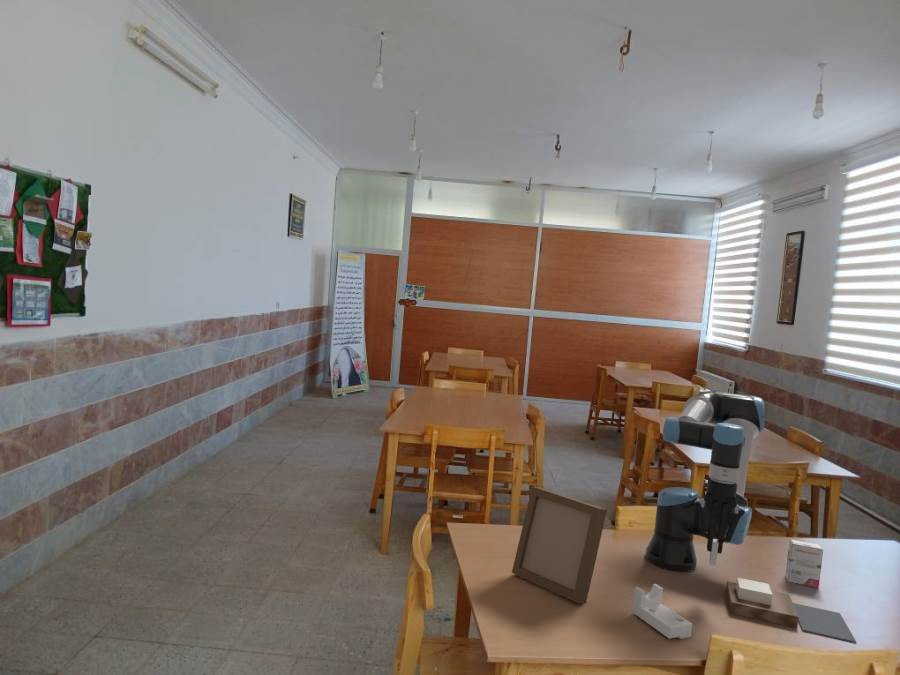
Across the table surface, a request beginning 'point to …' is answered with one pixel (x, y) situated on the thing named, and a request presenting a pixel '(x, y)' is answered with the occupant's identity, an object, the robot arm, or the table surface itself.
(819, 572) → the ink box
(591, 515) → the photo frame
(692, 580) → the table surface
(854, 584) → the table surface
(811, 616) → the mat
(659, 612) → the bracket
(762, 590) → the cream rectangular block
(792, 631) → the table surface
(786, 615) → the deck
